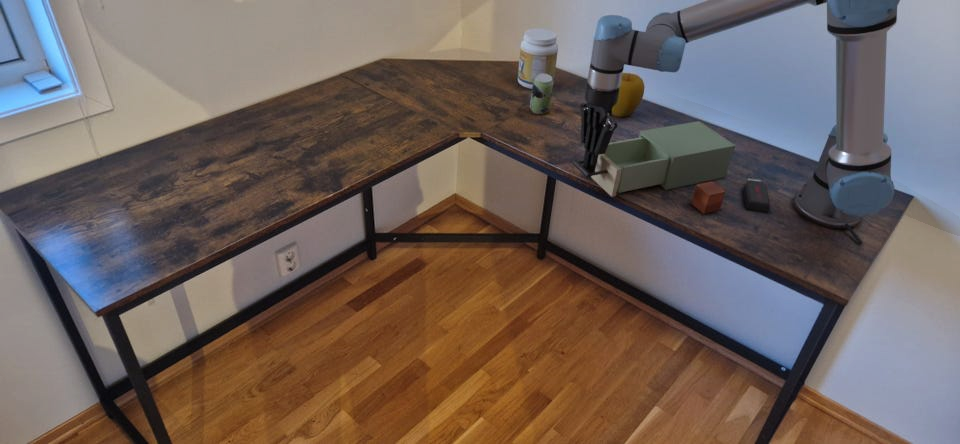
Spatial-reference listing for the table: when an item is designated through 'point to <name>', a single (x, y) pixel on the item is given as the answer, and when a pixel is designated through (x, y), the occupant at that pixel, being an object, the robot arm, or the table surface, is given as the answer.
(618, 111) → the apple
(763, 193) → the usb drive
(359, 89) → the table surface
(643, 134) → the cabinet
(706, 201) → the block
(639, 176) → the drawer
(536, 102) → the beverage can
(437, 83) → the table surface
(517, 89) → the table surface
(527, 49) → the supplement tub
